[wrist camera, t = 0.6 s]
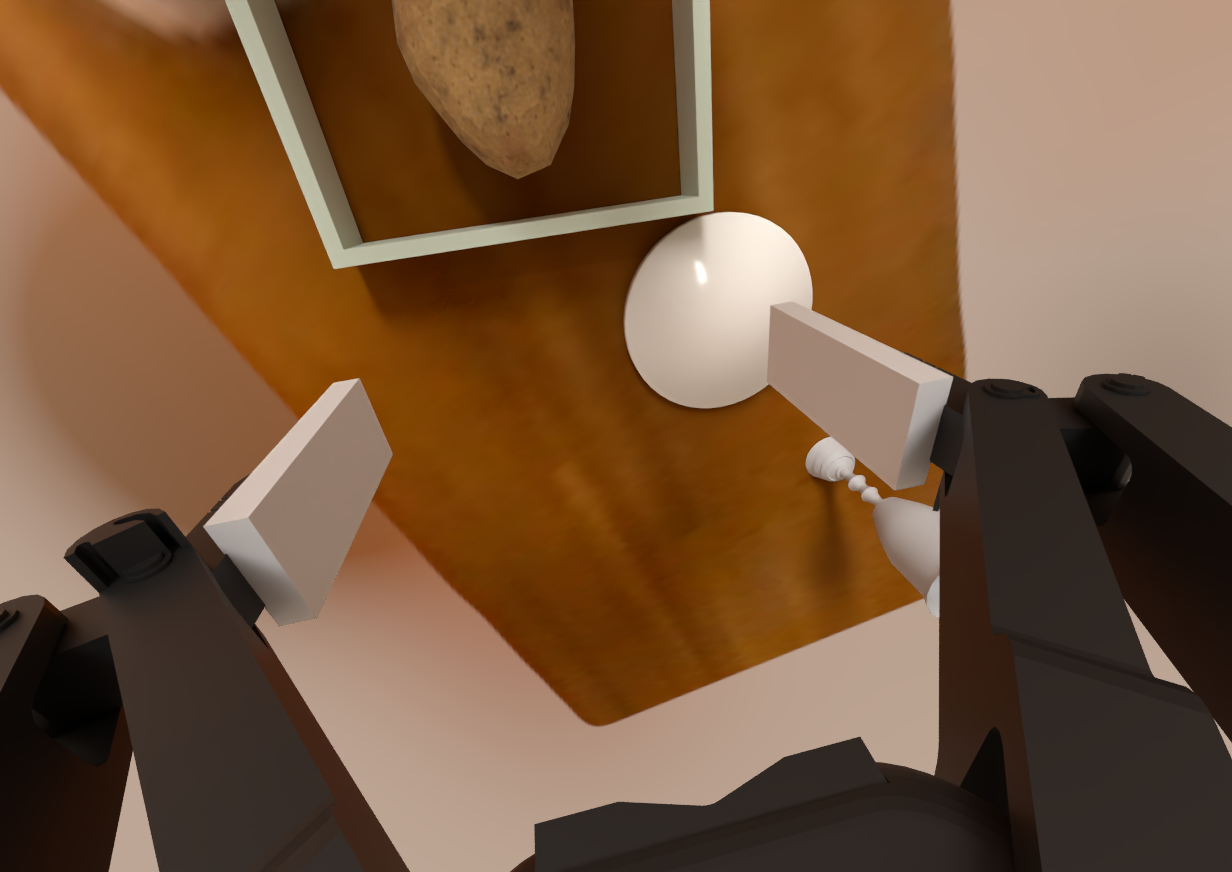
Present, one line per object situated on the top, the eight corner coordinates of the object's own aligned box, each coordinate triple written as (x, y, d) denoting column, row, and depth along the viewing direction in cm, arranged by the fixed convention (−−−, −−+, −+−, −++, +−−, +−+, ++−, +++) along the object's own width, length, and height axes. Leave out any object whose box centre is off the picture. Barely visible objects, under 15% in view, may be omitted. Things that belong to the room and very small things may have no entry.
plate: (611, 228, 35) (614, 229, 34) (812, 197, 36) (821, 197, 35) (633, 417, 42) (636, 423, 41) (798, 385, 44) (804, 390, 43)
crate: (180, -195, 22) (117, -265, 19) (678, -228, 25) (704, -295, 21) (354, 260, 33) (333, 268, 29) (694, 208, 35) (713, 210, 31)
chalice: (870, 456, 50) (1028, 580, 34) (818, 496, 51) (947, 632, 35) (839, 414, 46) (999, 530, 31) (784, 458, 48) (911, 590, 32)
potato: (458, 194, 32) (440, 196, 25) (362, -94, 25) (299, -201, 18) (595, 161, 32) (614, 155, 26) (537, -129, 25) (543, -247, 19)
